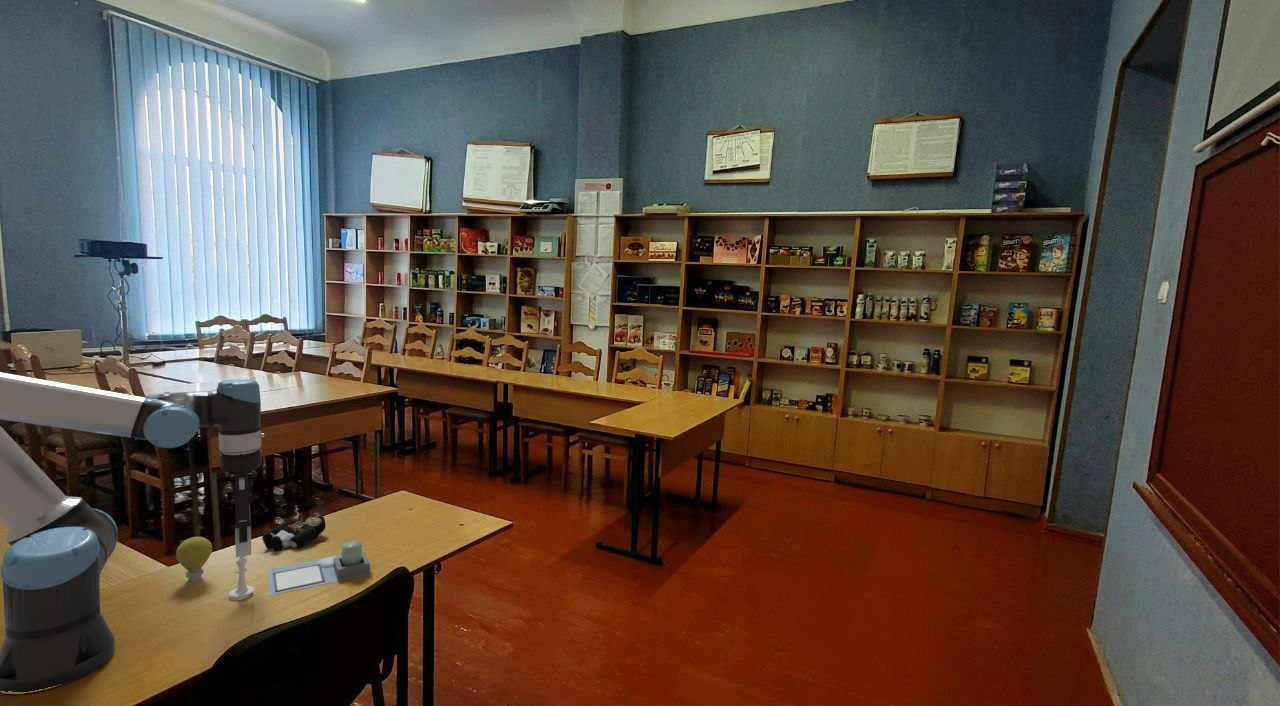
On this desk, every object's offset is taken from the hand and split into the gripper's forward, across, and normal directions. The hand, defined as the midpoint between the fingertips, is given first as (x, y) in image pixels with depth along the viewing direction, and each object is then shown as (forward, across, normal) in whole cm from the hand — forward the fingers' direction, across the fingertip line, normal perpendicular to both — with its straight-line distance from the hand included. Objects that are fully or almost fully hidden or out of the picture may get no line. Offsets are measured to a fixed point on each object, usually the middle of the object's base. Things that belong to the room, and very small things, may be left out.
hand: (243, 543), depth 126 cm
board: (+12, +2, -14) cm, 19 cm away
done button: (+9, -1, -22) cm, 24 cm away
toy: (+12, +25, -12) cm, 30 cm away
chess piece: (+12, 0, 0) cm, 12 cm away
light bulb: (+12, +13, +10) cm, 20 cm away
